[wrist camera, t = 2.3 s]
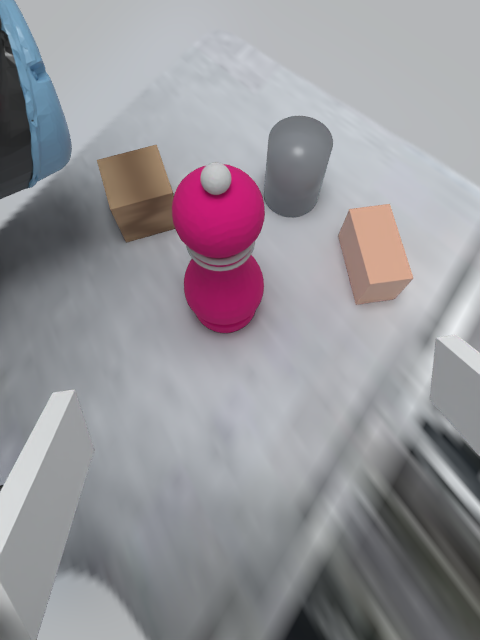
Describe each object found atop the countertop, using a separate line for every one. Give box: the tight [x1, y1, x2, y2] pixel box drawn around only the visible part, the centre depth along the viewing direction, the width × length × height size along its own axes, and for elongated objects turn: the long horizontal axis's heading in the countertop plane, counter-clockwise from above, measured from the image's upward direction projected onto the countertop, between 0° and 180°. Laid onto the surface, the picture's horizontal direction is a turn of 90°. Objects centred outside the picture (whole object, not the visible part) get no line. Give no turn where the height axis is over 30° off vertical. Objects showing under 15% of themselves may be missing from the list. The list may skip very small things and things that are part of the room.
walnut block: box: [97, 145, 175, 243], centre depth 43 cm, size 6×6×6 cm
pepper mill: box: [172, 162, 265, 333], centre depth 33 cm, size 7×7×20 cm
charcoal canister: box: [264, 116, 333, 217], centre depth 43 cm, size 6×6×8 cm
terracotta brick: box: [338, 204, 413, 305], centre depth 41 cm, size 4×8×5 cm, turn 8°
